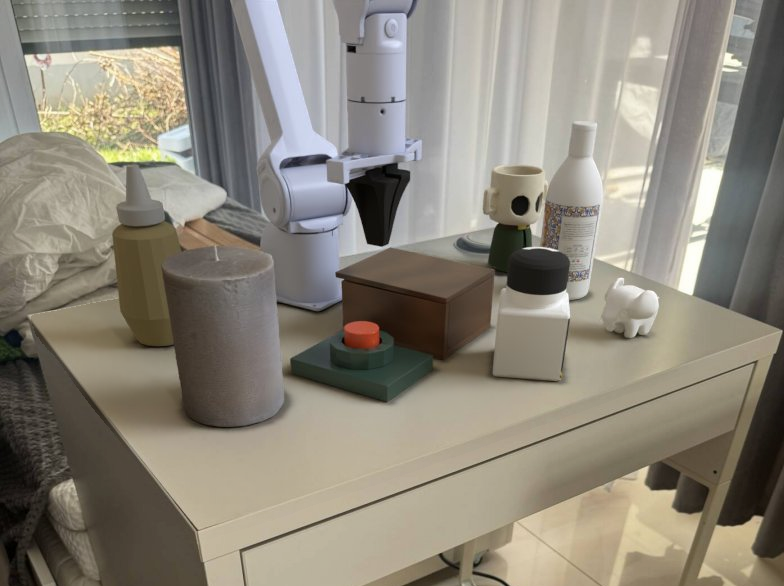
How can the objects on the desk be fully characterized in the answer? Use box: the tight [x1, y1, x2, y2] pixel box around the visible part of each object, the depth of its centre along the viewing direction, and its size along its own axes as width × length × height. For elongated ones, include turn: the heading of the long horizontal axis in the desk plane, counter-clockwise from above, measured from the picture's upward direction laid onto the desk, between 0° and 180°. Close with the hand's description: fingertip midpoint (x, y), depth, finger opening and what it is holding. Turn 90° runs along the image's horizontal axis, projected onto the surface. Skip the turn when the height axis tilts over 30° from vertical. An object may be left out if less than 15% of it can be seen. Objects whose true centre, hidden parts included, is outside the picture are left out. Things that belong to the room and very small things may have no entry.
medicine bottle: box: [492, 246, 571, 382], centre depth 80 cm, size 7×7×12 cm
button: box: [344, 321, 379, 349], centre depth 79 cm, size 4×4×2 cm
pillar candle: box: [161, 244, 285, 428], centre depth 70 cm, size 10×10×15 cm
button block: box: [289, 330, 434, 403], centre depth 80 cm, size 12×9×4 cm
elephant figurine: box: [598, 277, 660, 339], centre depth 89 cm, size 7×8×6 cm
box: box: [340, 275, 495, 361], centre depth 89 cm, size 13×11×6 cm
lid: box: [335, 246, 496, 304], centre depth 87 cm, size 14×11×1 cm
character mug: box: [482, 164, 549, 273], centre depth 106 cm, size 11×7×13 cm, turn 123°
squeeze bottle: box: [111, 163, 183, 347], centre depth 82 cm, size 8×8×18 cm
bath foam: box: [539, 120, 604, 301], centre depth 96 cm, size 7×7×20 cm
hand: (377, 244), depth 83 cm, fingers closed
